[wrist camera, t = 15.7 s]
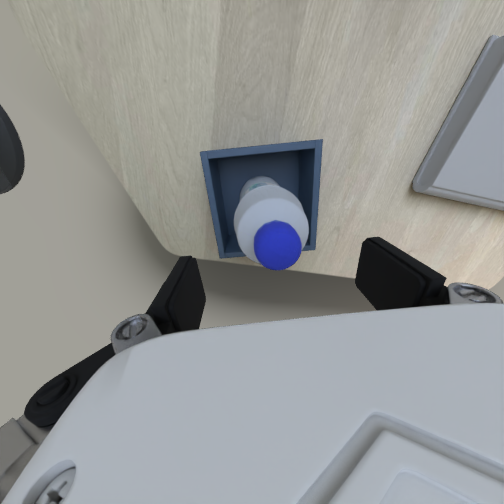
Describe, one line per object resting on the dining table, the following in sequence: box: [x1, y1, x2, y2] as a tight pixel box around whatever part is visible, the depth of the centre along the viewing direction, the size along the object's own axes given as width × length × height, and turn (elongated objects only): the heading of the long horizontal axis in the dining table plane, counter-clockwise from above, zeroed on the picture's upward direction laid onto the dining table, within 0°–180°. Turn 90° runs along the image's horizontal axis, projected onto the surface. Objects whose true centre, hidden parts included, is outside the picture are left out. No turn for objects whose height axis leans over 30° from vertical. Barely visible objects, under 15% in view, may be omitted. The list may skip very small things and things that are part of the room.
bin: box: [200, 139, 323, 259], centre depth 28 cm, size 14×14×8 cm
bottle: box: [234, 176, 309, 270], centre depth 22 cm, size 7×7×20 cm
